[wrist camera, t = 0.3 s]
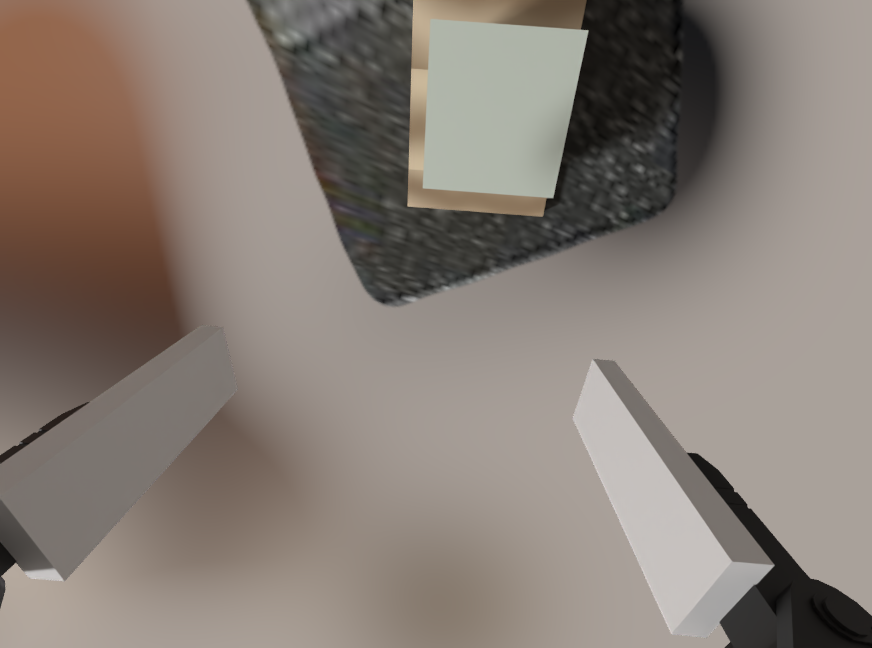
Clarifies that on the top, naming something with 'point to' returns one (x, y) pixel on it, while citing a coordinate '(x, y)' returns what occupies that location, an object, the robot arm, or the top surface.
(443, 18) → the board
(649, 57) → the top surface
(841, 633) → the robot arm
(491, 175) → the block
